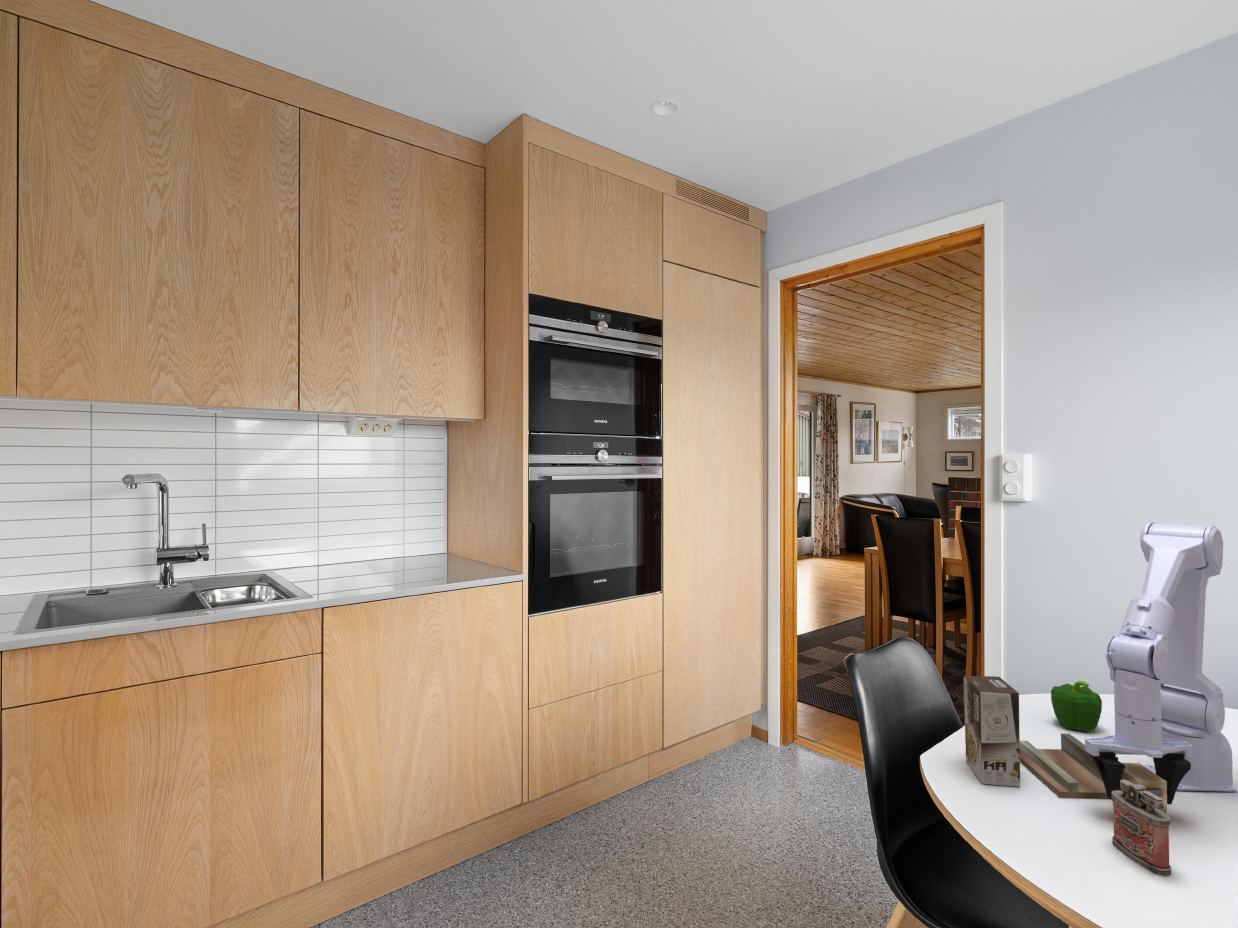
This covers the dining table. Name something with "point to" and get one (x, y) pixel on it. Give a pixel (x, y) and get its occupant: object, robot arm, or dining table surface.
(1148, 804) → the lighter
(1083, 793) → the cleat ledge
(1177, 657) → the robot arm
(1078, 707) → the bell pepper
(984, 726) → the coffee box
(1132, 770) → the oak cabinet block
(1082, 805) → the dining table surface
